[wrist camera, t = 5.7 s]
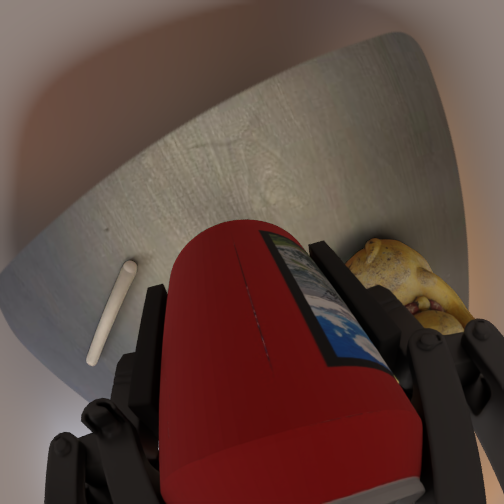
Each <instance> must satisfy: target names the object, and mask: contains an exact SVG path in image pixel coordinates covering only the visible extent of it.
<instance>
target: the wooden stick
mask: <svg viewBox="0 0 504 504" xmlns="http://www.w3.org/2000/svg"><path fill="white" fill-rule="evenodd" d="M136 272H137V265H136V263H135V262H133V261H127V262H125V263H124V265H123V267H122V269H121V272H120V274H119V276H118V278H117V281H116V283H115V285H114V288H113V290H112V292H111V295H110V297H109V300H108V302H107V305H106V307H105V310H104V312H103V315H102V317H101V320H100V322H99V325H98V327H97V330H96V333H95V335H94V338H93V341H92V344H91V347H90V349H89V352H88V355H87V358H86V361H87V363H88V364H89V365H90V366H94V365H96V364H97V362H98V359H99V357H100V354H101V352H102V349H103V347H104V344H105V342H106V339H107V337H108V334H109V332H110V330H111V327H112V325H113V323H114V320H115V318H116V316H117V313H118V311H119V309H120V307H121V304H122V302H123V300H124V298H125V296H126V293H127V291H128V289H129V287H130V285H131V283H132V281H133V279H134V276H135V274H136Z"/></svg>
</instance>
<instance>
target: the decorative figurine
mask: <svg viewBox="0 0 504 504" xmlns="http://www.w3.org/2000/svg"><path fill="white" fill-rule="evenodd" d="M345 265H346V266H347V267H348V268H349V269H350V270H351V272H352V273H353V274H354V275H355V276H356V277H357V278H358V280H359V281H360V282H361V283H362V284H363V285H364V287H365V288H366V289H367V288H370V287H373V286H376V285H381V286H383V287H385V288H387V289H389V290H390V291H391V292H392V293H393V294H394V295H395V296H396V297H397V299H399V300H400V301H401V302H402V304H403V305H404V306H405V307H406V308H407V309H408V310H409V311H410V312H411V313H412V315H413V316H414V317H415V318H416V319H417V320H418V321H419V322H420V323H421V325H422V326H423V327H424V328H431V329H435V330H437V331H439V332H440V333H442V335H449V334H454V333H459V332H464V328H465V326H466V324H467V323H468V322H469V321H471V320H473V319H475V318H474V317H473V316H472V315H471V314H470V312H469V311H468V310H467V308H466V307H465V305H464V304H463V302H462V301H461V299H460V298H459V297H458V295H457V294H456V293H455V292H454V290H453V289H452V288H451V287H450V286H449V285H448V284H447V283H446V282H444V281H443V280H442V279H441V278H440V277H438V276H437V275H436V274H434V273H432V270H431V268H430V266H429V264H428V262H427V261H426V260H425V259H424V258H423V257H422V256H421V255H420V254H419V253H418V252H417V251H415V250H413V249H412V248H410V247H408V246H407V245H405V244H403V243H402V242H400V241H397V240H390V239H382V240H379V239H377V238H373V239H371V240H369V241H367V242H366V244H365V247H364V249H362V250H360V251H358V252H357V253H356V254H355V255H353V256H352V257H351V258H350V259H349V260H348V261H347V262H346V263H345ZM394 377H395V376H394ZM395 378H396V377H395ZM396 380H397V379H396ZM397 381H398V380H397ZM398 383H399V382H398Z"/></svg>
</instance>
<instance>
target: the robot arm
mask: <svg viewBox="0 0 504 504" xmlns="http://www.w3.org/2000/svg"><path fill="white" fill-rule="evenodd" d="M308 246H309V253H310V257H311V259H312V260H313V261H314V262H315V264H316V265H317V266H318V268H319V269H320V270H321V272H322V273H323V274H324V276H325V277H326V278H327V280H328V281H329V282H330V284H331V285H332V286H333V288H334V289H335V291H336V292H337V293H338V295H339V296H340V297H341V299H342V300H343V302H344V303H345V304H346V306H347V307H348V309H349V310H350V312H351V313H352V314H353V316H354V317H355V319H356V320H357V321H358V323H359V324H360V326H361V327H362V329H363V330H364V332H365V333H366V334H367V336H368V337H369V339H370V340H371V342H372V343H373V345H374V346H375V348H376V349H377V351H378V352H379V354H380V355H381V357H382V358H383V360H384V361H385V363H386V364H387V366H388V367H389V369H390V370H391V372H392V374H393V375H394V376H395V377H396V379H397V380H398V382H399V385H400V386H401V388H402V389H403V391H404V392H405V394H406V396H407V397H408V399H409V400H410V402H411V404H412V405H413V407H414V409H415V410H416V412H417V413H418V415H419V417H420V418H421V421H422V426H423V447H422V467H421V476H420V482H421V483H422V484H423V486H424V488H425V493H424V494H423V495H422V496H421V497H420V498H419V499H418V500H416V501H415V502H414V503H412V504H486V495H485V487H484V480H483V474H482V468H481V462H480V457H479V452H478V447H477V442H476V438H475V433H476V435H477V437H478V439H479V441H480V443H481V445H482V447H483V449H484V451H485V453H486V455H487V457H488V459H489V461H490V463H491V466H492V468H493V470H494V472H495V474H496V476H497V479H498V481H499V483H500V486H501V488H502V490H503V493H504V337H503V335H502V334H501V333H500V332H499V331H498V329H497V328H496V327H495V326H494V325H493V324H492V323H490V322H489V321H487V320H484V319H473V320H471V321H469V322H468V323H467V324H466V326H465V328H464V332H459V333H454V334H449V335H442V333H440V332H439V331H437V330H435V329H431V328H424V327H423V326H422V325H421V323H420V322H419V321H418V320H417V319H416V318H415V317H414V316H413V315H412V313H411V312H410V311H409V310H408V309H407V308H406V307H405V306H404V305H403V304H402V302H401V301H400V300H399V299H397V297H396V296H395V295H394V294H393V293H392V292H391V291H390V290H389V289H387V288H385V287H383V286H381V285H376V286H373V287H370V288H367V289H366V288H365V287H364V285H363V284H362V283H361V282H360V281H359V280H358V278H357V277H356V276H355V275H354V274H353V273H352V272H351V270H350V269H349V268H348V267H347V266H346V265H345V264H344V263H343V261H342V260H341V259H340V258H339V257H338V256H337V255H336V254H335V252H334V251H333V250H332V249H331V248H330V247H329V246H328V245H327V244H326V242H325V241H320V242H317V243H313V244H309V245H308ZM167 296H168V294H167V292H166V289H165V287H164V285H163V284H160V285H156V286H152V287H148V289H147V294H146V299H145V303H144V308H143V313H142V318H141V324H140V329H139V334H138V340H137V346H136V352H133V353H128V354H123V356H122V357H121V359H120V361H119V362H118V364H117V367H116V372H115V377H114V382H113V383H114V385H113V388H112V393H111V399H110V400H109V399H106V398H100V399H96V400H94V401H92V402H91V403H89V404H88V405H87V407H85V409H84V411H83V413H82V415H81V422H82V423H83V424H84V425H85V426H87V428H89V429H90V430H91V431H92V432H93V433H90V434H87V435H85V436H82V437H80V438H77V437H76V436H74V435H73V434H71V433H70V432H63V433H60V434H58V435H57V436H55V437H54V439H53V440H52V441H51V443H50V447H49V453H48V461H47V471H46V483H45V500H44V504H166V503H165V501H164V500H163V497H162V495H161V492H160V470H159V450H158V440H159V398H160V376H161V359H162V344H163V333H164V323H165V313H166V304H167ZM474 431H475V433H474Z"/></svg>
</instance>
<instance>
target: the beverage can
mask: <svg viewBox="0 0 504 504" xmlns="http://www.w3.org/2000/svg"><path fill="white" fill-rule="evenodd" d="M422 447H423V426H422V421H421V418H420V417H419V415H418V413H417V412H416V410H415V409H414V407H413V405H412V404H411V402H410V400H409V399H408V397H407V396H406V394H405V392H404V391H403V389H402V388H401V386H400V385H399V383H398V381H397V380H396V378H395V377H394V375H393V374H392V372H391V370H390V369H389V367H388V366H387V364H386V363H385V361H384V360H383V358H382V357H381V355H380V354H379V352H378V351H377V349H376V348H375V346H374V345H373V343H372V342H371V340H370V339H369V337H368V336H367V334H366V333H365V332H364V330H363V329H362V327H361V326H360V324H359V323H358V321H357V320H356V319H355V317H354V316H353V314H352V313H351V312H350V310H349V309H348V307H347V306H346V304H345V303H344V302H343V300H342V299H341V297H340V296H339V295H338V293H337V292H336V291H335V289H334V288H333V286H332V285H331V284H330V282H329V281H328V280H327V278H326V277H325V276H324V274H323V273H322V272H321V270H320V269H319V268H318V266H317V265H316V264H315V262H314V261H313V260H312V259H311V257H310V256H309V255H308V253H307V252H306V251H305V250H304V248H303V247H302V246H301V245H300V243H299V242H298V241H297V240H296V239H295V238H294V237H293V236H292V235H291V234H290V233H288V232H287V231H285V230H284V229H282V228H280V227H278V226H276V225H273V224H270V223H267V222H263V221H258V220H249V219H245V220H233V221H227V222H224V223H220V224H217V225H215V226H212V227H210V228H208V229H206V230H205V231H203V232H201V233H200V234H198V235H197V236H196V237H194V238H193V239H192V240H191V241H190V242H189V243H188V244H187V245H186V246H185V247H184V248H183V249H182V251H181V252H180V254H179V255H178V257H177V259H176V260H175V263H174V265H173V268H172V271H171V275H170V282H169V289H168V296H167V304H166V313H165V323H164V333H163V344H162V359H161V376H160V398H159V470H160V492H161V495H162V497H163V500H164V501H165V503H166V504H412V503H414V502H415V501H416V500H418V499H419V498H420V497H421V496H422V495H423V494H424V493H425V488H424V486H423V484H422V483H421V482H420V476H421V467H422Z"/></svg>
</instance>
